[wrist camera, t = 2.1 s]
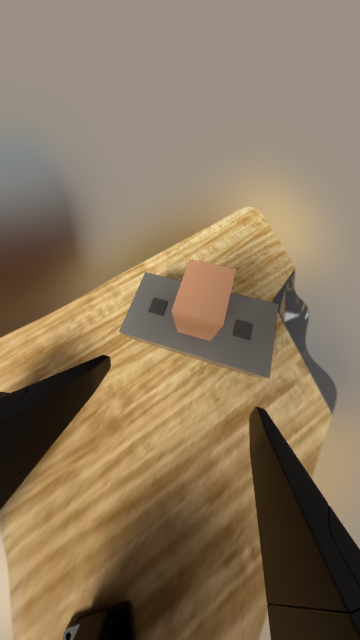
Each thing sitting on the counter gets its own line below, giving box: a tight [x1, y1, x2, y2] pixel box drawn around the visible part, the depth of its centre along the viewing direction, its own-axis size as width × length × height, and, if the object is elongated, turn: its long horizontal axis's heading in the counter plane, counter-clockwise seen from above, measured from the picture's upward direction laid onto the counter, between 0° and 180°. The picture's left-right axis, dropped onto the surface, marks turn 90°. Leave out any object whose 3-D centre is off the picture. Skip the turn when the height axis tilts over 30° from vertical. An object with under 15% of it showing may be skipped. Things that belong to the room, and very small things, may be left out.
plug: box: [171, 259, 236, 341], centre depth 17 cm, size 5×4×11 cm
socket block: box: [119, 272, 278, 378], centre depth 21 cm, size 9×18×5 cm, turn 73°
